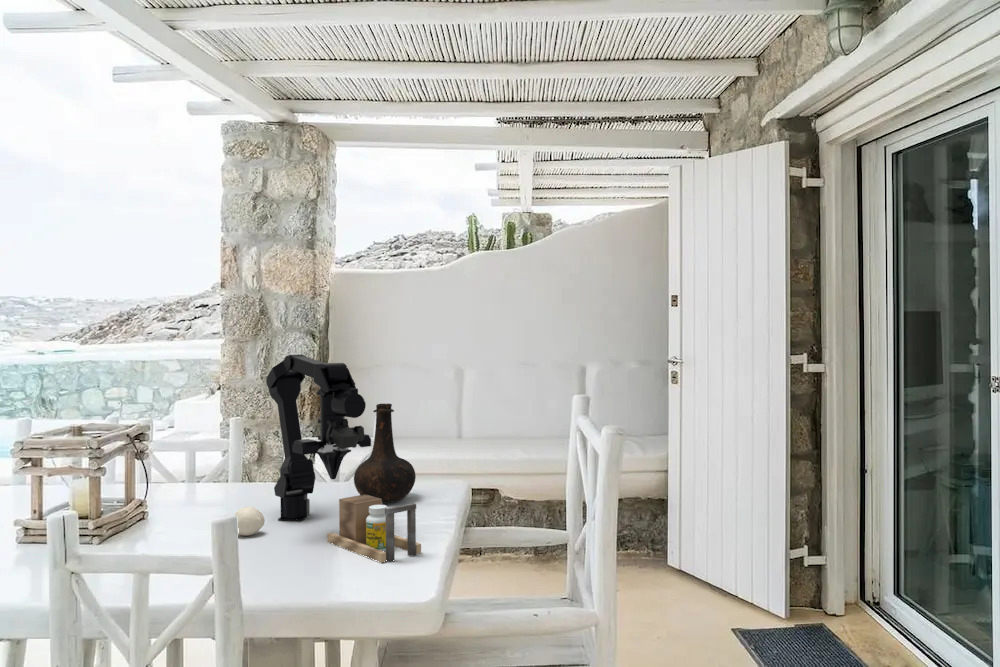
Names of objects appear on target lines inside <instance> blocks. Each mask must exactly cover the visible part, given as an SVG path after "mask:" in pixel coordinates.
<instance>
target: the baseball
mask: <svg viewBox="0 0 1000 667" xmlns="http://www.w3.org/2000/svg"><path fill="white" fill-rule="evenodd" d="M234 515H235V516H237V517H238V528H239V534H238V535H239V536H244V537H245V536H246V537H249V536H252V535H254V534H257V533H258V532H259V531H260V529H262V528H263V527H264V525H265V522H266V521H265V516H264V514H263V512H261V511H260V510H259V509H257V508H256V507H254V506H246V507H242V508H239V509H238V510H237V511H235V514H234Z"/></svg>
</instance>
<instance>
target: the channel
mask: <svg viewBox="0 0 1000 667" xmlns="http://www.w3.org/2000/svg"><path fill="white" fill-rule="evenodd" d="M416 510H417V503H407V504H402V505H399V506H398V505H397V506H393V507H387V509H385V514H386V551H385V552H383V551H380V550H378V549H375V548H372V547H370V546H367V545H364V544H362V543H359V542H356V541H353V540H351V539H348V538H345V537H343V536H340V534H337V533H334V532H328V533H327V534H326V535H327V536H326V537H327V538H326V540H327V543H328V542H330V543H329V544H331V543H333V544H335V545H334V546H336V545H338V546H341V547H343V548H342V549H344V548H345V549H344V550H346V549H348V550H347V551H349V550H350V551H349V552H351V551H353V552H352V553H354V552H356V553H358V554H357V555H359V554H361V555H364V556H367V557H369V558H372V559H374V560H377V561H379V562H384V561H386V560H387V561H393V560H395V559H396V558H395V546H396V547H397V548H398V547H399V548H398V549H401V548H402V550H404V549H405V551H407V556H408V555H415V556H416V555H417V554H416V553H419V554H421V553H422V543H420V542H417V541H416V540H417V538H416V537H417V535H416V532H417V527H416V525H417V523H416V522H417V521H416V520H417V519H416V517H417V516H416V512H417V511H416ZM402 512H403V513H404V512H406V514H407V515H406V518H407V519H406V520H407V521H406V522H407V523H406V524H407V528H406V529H407V532H406V534H407V535H406V536H407V538H404V537H402V536H399V535H396V534H395V514H397V513H402ZM333 544H332V545H333ZM338 546H337V547H338ZM341 547H340V548H341ZM356 553H355V554H356ZM361 555H360V556H361ZM364 556H363V557H364ZM369 558H368V559H369ZM372 559H371V560H372ZM374 560H373V561H374ZM377 561H376V562H377ZM387 561H386V562H387ZM379 562H378V563H379ZM393 562H394V561H393ZM384 563H385V562H384Z"/></svg>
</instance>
